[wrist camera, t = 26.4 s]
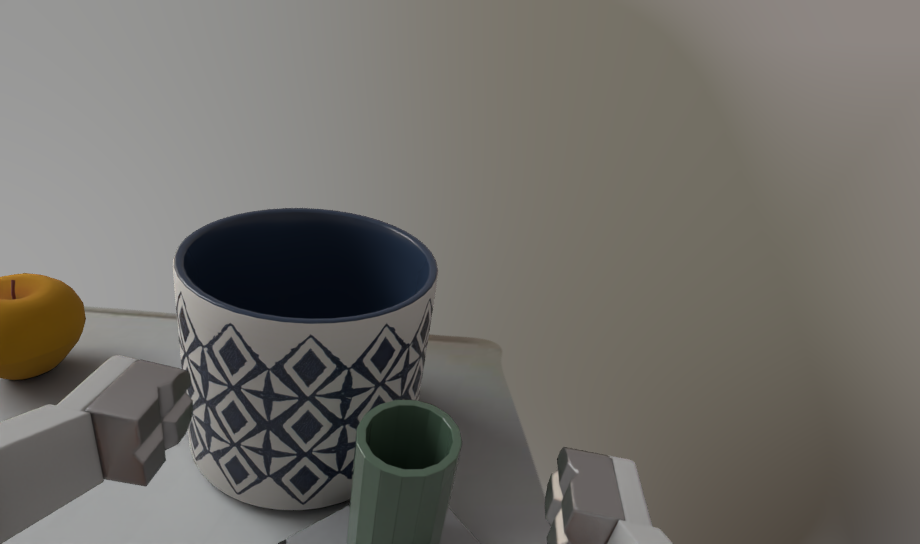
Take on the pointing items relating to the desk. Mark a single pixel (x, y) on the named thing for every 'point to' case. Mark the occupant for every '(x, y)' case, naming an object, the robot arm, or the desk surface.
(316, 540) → the scale
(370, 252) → the planter
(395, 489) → the cup
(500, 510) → the desk surface
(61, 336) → the apple
